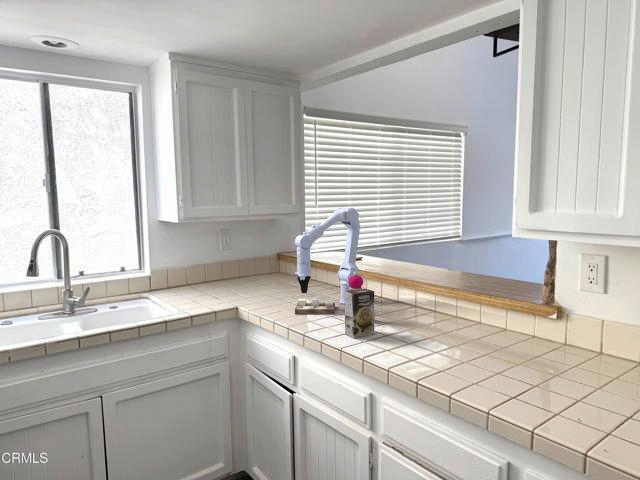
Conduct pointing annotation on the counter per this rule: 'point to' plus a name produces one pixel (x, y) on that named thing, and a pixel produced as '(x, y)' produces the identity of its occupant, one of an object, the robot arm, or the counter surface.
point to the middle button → (315, 302)
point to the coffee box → (359, 313)
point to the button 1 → (301, 302)
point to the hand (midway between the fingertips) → (304, 293)
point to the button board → (315, 309)
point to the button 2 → (329, 304)
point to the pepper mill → (355, 282)
